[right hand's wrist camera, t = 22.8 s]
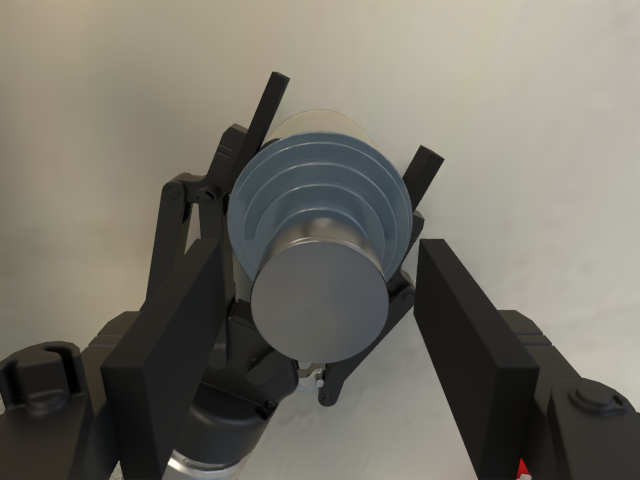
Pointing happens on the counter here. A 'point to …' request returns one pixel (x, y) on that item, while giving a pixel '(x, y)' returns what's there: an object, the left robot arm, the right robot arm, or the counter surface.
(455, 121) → the counter surface
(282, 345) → the cap
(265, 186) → the bottle
